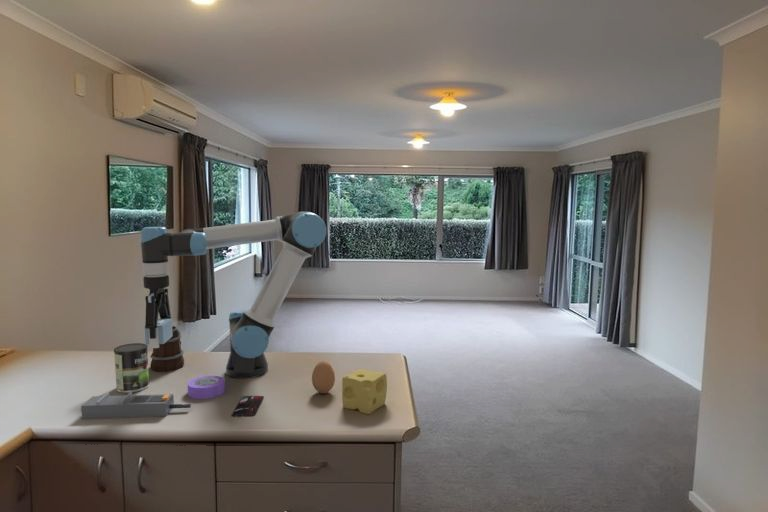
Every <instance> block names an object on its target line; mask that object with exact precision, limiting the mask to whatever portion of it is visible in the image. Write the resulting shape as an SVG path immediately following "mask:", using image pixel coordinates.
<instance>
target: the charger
mask: <svg viewBox="0 0 768 512" xmlns="http://www.w3.org/2000/svg"><path fill="white" fill-rule="evenodd" d="M172 326H173V318H171V319H160V318H158V321H157V327H158V332H159V344H164V343H165V342H167V341H168V340H169V339H170V338H171V337H172V336H173V331H172ZM144 335H145V337H144V338H145V339H144V341H145V344H146V345H149V328H148V329H146V328H145V327H144Z"/></svg>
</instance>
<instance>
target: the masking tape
mask: <svg viewBox="0 0 768 512" xmlns="http://www.w3.org/2000/svg"><path fill="white" fill-rule="evenodd" d="M225 383H226V382H225V378H224V377H222V376H219V375H205V376H198V377H196V378H193V379H191V380H189V381H188V382H187V396H188V397H190V398H193V399H197V400H199V399H200V400H203V399H204V400H205V399H211V398H215V397H219V396H221V395H222V394H223V393H225V391H226V388H225V386H226V385H225Z"/></svg>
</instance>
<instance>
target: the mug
mask: <svg viewBox="0 0 768 512" xmlns="http://www.w3.org/2000/svg"><path fill="white" fill-rule="evenodd" d="M172 331H173V336H172V337H171V338H170V339H169V340H168V341H167V342H165V343H164V344H159V348H152V353H151V354H150V359H151V361H150V364H149V365H150V370H153V371H155V372H170V371H175V370H179V369H181V368H183V367H184V366H185V358H184V356H183V355H184V353H185V352H184V350H183V349H182V346H181V344H182V340H181V338H182V334H181V331H180V330H179V329H178V326H176V325H175V326H174V325H172Z"/></svg>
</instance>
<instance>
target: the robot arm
mask: <svg viewBox="0 0 768 512" xmlns="http://www.w3.org/2000/svg"><path fill="white" fill-rule="evenodd" d="M140 236H141V237H140V239H141V240H140V248H141V258H142V260H141V261H142V265H141V266H140V267H141V268H142V273H143V275H144V276H143V277H142V278H143V279H142V281H143V287H144V289H148V290H149V294H148V295H145V323H144V329H145V328H146V329H148V328H149V344H148V345H149V349H153V348H159V332H158V327H157V321H158V319H172V314H171V307H170V302H169V301H170V299H169V289H168V287H169V286H170V276H169V275H168V274H169V273H170V269H169V259H168V258H169V257H175V256H176V257H178V256H179V257H182V256H183V257H185V256H186V257H187V256H189V257H190V256H195V257H196V256H204V255H206V254H207V250H210V249H216V248H217V249H219V248H225V247H232V246H240V245H241V246H242V245H248V244H249V245H250V244H256V243H264V242H273V241H278V242H280V243H282V249H281V251H280V253H279V254H278V257H277V258H276V260H275V262H274V264H273V266H272V268H271V270H270V272H269V274H268V275H267V277H266V279H265V281H264V283H263V284H262V287H261V289H260V290H259V292H258V294H257V296H256V298H255V300H254V302H253V304H252V305H251V307H250V308H249V309H244V310H243V309H242V310H235V311H232V312H230V313H229V317H228V322H229V323H228V325H229V345H230V346H229V348H230V349H229V350H230V352H229V356H228V358H227V362H226V366H225V374H226V375H227V376H228V377H231V378H235V379H247V378H249V379H250V378H256V377H259V376H262V375H264V374H266V373H267V372H268V371H269V362H268V361H267V358H266V356H265V351H266V350H267V349H268V346H269V342H270V341H269V340H270V339H269V338H270V336H271V334H272V332H273V331H274V329H275V327H276V324H275V321H274V319H275V317H276V315H277V314H278V312H279V310H280V308H281V306H282V304H283V302H284V300H285V299H286V297H287V294H288V293H289V290H290V288H291V287H292V285H293V283H294V281H295V280H296V278H297V275H298V274H299V272H300V271H301V268H302V267H303V264H304V262H305V260H306V259H307V258H311V257H312V256H313V255H314V253H315V251H316V249H317V248H318V247H319V246H320V245H321V244H322V243H323V242H324V240H325V239H326V236H327V226H326V223H325V221H324V220H323V219H322V217H320V216H319V215H318V214H316V213H313V212H311V211H304V210H303V211H302V210H301V211H297V212H293V213H290V214H284V215H278V216H276V217H275V218H274V219H267V220H262V221H261V220H260V221H251V222H244V223H237V224H236V223H235V224H234V223H232V224H228V225H227V224H226V225H225V224H224V225H219V226H218V225H216V226H210V227H203V228H186V229H183V230H181V231H180V232H168V231H167V227H165V226H146V227H143V228H142V229H141V231H140ZM159 317H160V318H159Z"/></svg>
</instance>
